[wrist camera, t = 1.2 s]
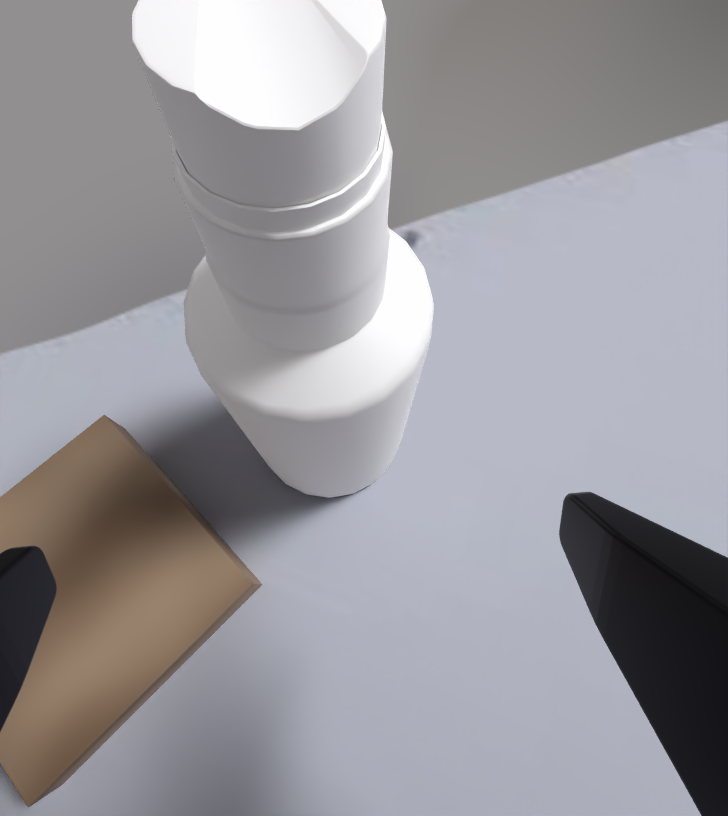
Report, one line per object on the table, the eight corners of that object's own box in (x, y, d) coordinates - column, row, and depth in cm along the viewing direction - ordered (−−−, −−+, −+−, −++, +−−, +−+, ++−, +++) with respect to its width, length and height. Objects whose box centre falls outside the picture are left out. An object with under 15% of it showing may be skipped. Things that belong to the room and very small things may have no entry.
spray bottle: (373, 348, 25) (406, -158, 8) (422, 471, 23) (610, 132, 6) (244, 387, 24) (-26, -86, 7) (281, 519, 22) (17, 287, 5)
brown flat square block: (262, 584, 21) (252, 584, 19) (62, 784, 18) (28, 806, 16) (124, 428, 23) (104, 414, 21) (-70, 586, 21) (-112, 586, 19)
